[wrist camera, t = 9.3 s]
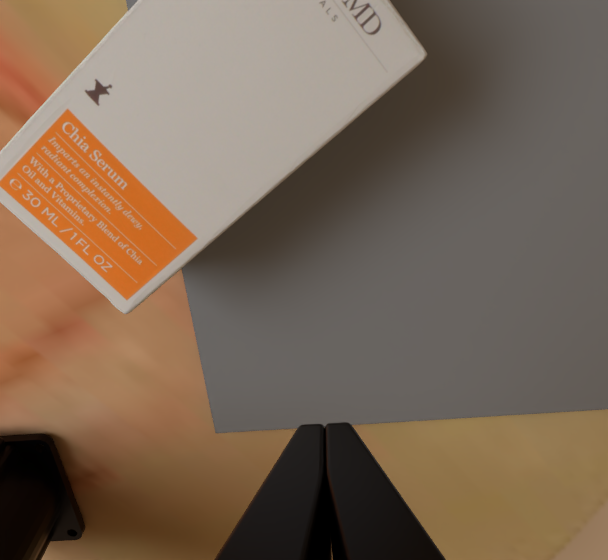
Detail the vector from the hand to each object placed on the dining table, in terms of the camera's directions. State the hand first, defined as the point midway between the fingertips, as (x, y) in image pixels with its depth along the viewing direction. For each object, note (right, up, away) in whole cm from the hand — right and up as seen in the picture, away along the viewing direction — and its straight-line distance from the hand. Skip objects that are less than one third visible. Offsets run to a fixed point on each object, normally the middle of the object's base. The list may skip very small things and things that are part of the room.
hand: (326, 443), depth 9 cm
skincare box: (-8, +4, +9) cm, 13 cm away
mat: (+4, +5, +12) cm, 13 cm away
